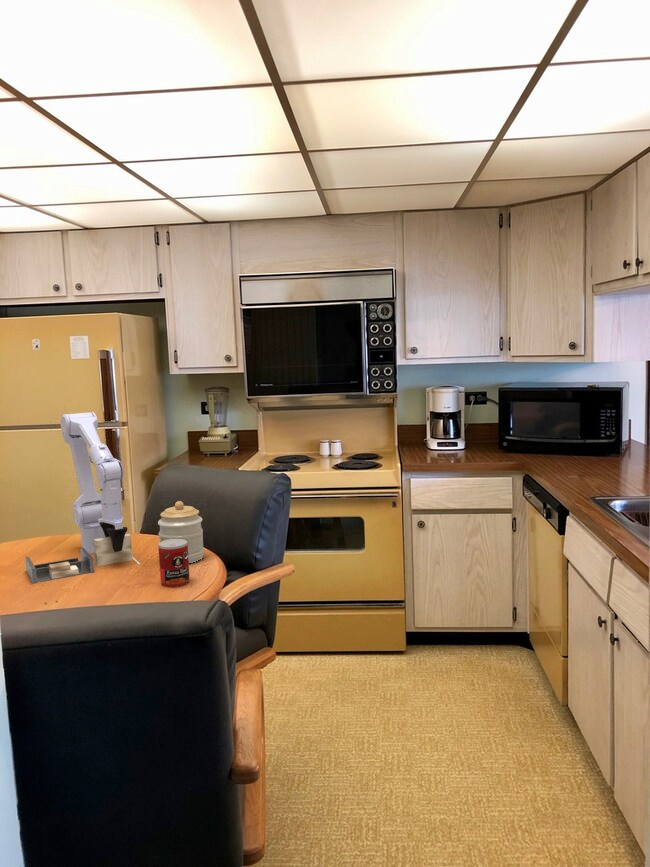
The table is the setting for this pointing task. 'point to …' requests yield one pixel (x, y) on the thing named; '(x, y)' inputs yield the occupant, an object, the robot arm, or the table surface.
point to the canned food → (173, 562)
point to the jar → (183, 528)
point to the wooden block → (112, 551)
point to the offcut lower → (65, 572)
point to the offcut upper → (59, 567)
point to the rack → (42, 570)
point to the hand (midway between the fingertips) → (114, 548)
